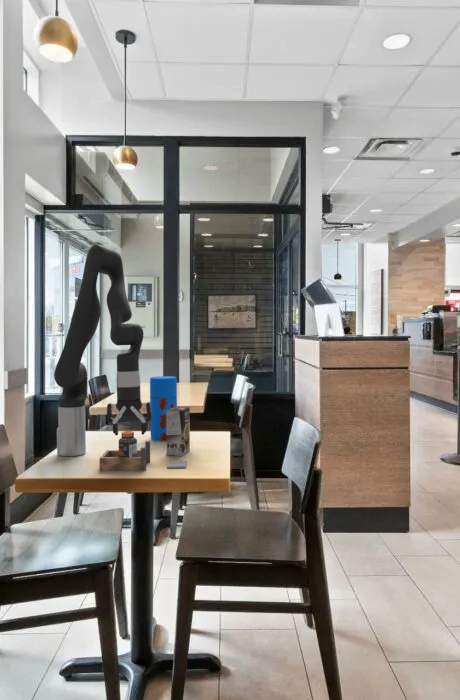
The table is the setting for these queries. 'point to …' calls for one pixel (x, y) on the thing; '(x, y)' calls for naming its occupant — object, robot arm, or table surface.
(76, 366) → the robot arm
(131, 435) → the pill bottle
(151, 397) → the thermos
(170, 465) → the mat
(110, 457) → the wooden u-shaped frame
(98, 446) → the table surface
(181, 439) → the coffee box
